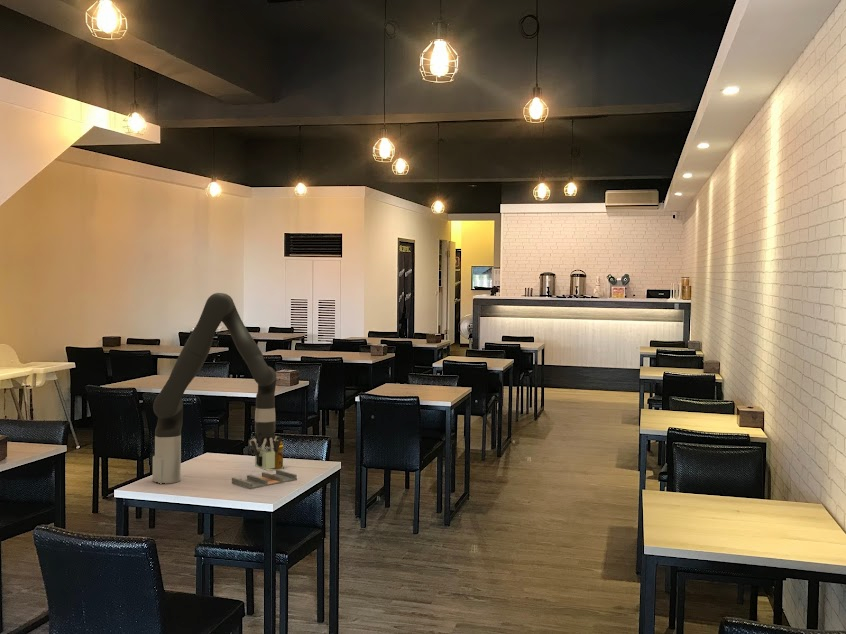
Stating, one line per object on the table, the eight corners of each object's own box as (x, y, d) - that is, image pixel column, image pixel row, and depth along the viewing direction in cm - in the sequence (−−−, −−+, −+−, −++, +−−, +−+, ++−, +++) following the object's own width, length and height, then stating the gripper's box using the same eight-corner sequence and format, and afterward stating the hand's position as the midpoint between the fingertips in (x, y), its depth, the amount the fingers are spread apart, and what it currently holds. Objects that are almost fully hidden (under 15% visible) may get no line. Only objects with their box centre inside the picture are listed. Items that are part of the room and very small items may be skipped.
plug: (265, 469, 286) (266, 453, 286) (255, 466, 291) (255, 450, 290) (274, 467, 289) (274, 451, 289) (264, 464, 294) (264, 449, 293)
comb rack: (250, 489, 278) (250, 483, 278) (231, 483, 286) (231, 477, 286) (296, 479, 293) (296, 474, 293) (277, 474, 301) (278, 469, 301)
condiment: (287, 468, 313) (287, 438, 313) (269, 471, 308) (269, 441, 307) (277, 465, 319) (277, 436, 318) (259, 468, 313) (259, 438, 312)
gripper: (275, 416, 297) (274, 460, 297) (243, 420, 287) (243, 466, 287) (286, 418, 292) (286, 463, 292) (254, 423, 281) (254, 469, 282)
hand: (264, 464), depth 290 cm, fingers closed on plug, 4 cm apart
